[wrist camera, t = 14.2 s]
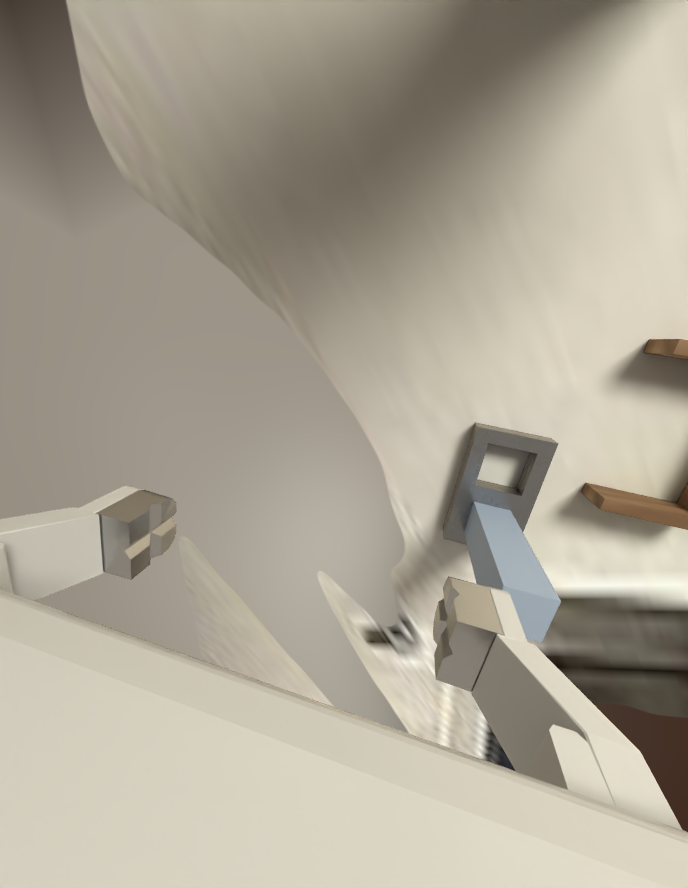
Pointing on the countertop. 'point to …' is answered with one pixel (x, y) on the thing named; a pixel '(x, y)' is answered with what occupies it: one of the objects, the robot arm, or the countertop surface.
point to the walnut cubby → (639, 506)
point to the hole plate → (496, 494)
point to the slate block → (510, 567)
